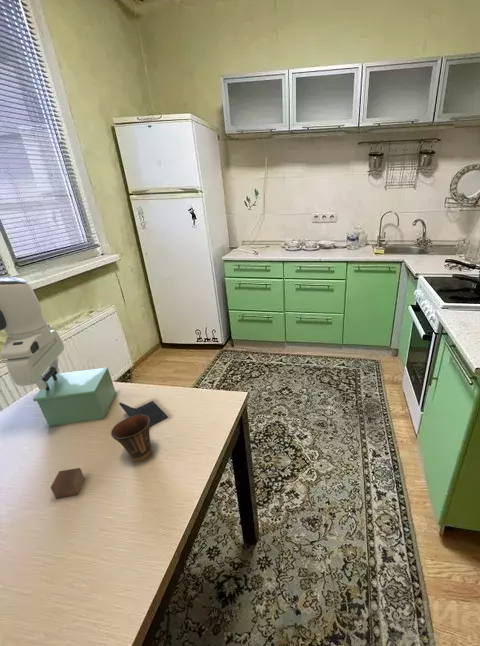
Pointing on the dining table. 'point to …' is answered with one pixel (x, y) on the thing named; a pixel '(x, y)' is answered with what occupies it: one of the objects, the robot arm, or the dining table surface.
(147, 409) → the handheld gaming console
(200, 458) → the dining table surface
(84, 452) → the dining table surface
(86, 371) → the lid
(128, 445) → the cup
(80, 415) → the green open box
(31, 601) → the dining table surface
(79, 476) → the block
